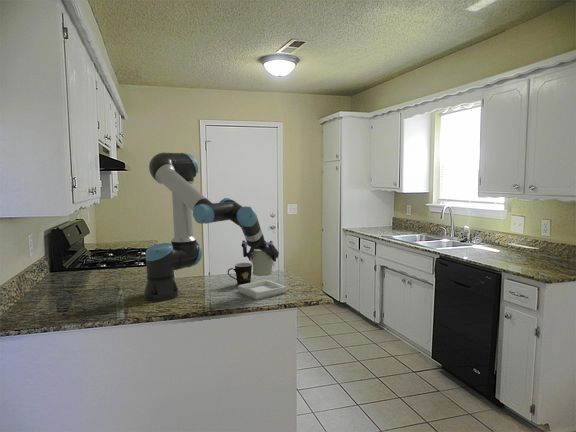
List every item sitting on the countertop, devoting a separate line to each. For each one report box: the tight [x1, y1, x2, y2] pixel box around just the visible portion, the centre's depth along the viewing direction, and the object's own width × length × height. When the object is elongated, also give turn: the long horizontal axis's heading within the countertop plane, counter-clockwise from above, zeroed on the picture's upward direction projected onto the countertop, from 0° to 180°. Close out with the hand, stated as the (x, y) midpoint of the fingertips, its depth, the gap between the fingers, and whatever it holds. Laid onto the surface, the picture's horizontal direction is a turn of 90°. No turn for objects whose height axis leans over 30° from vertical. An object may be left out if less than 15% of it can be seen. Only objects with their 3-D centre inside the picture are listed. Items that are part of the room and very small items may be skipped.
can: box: [252, 249, 274, 277], centre depth 187 cm, size 9×9×12 cm
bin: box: [237, 279, 287, 301], centre depth 189 cm, size 16×16×3 cm
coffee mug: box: [227, 262, 253, 286], centre depth 202 cm, size 12×9×10 cm
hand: (264, 263), depth 190 cm, fingers closed on can, 9 cm apart
